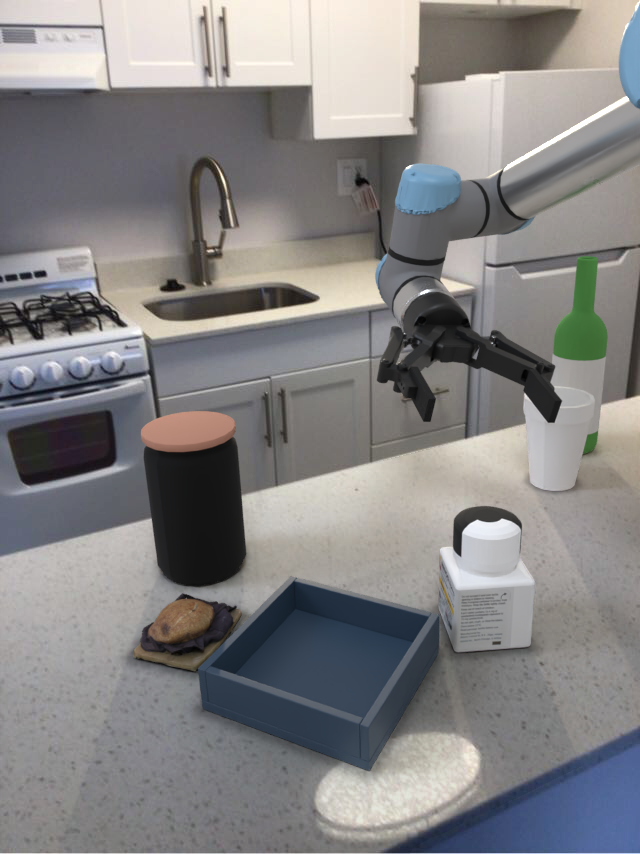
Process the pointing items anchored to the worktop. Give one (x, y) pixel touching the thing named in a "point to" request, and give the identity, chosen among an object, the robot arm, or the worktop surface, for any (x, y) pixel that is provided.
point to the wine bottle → (582, 344)
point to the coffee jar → (195, 496)
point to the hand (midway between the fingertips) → (493, 411)
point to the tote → (323, 669)
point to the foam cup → (558, 439)
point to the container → (486, 582)
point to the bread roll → (187, 632)
